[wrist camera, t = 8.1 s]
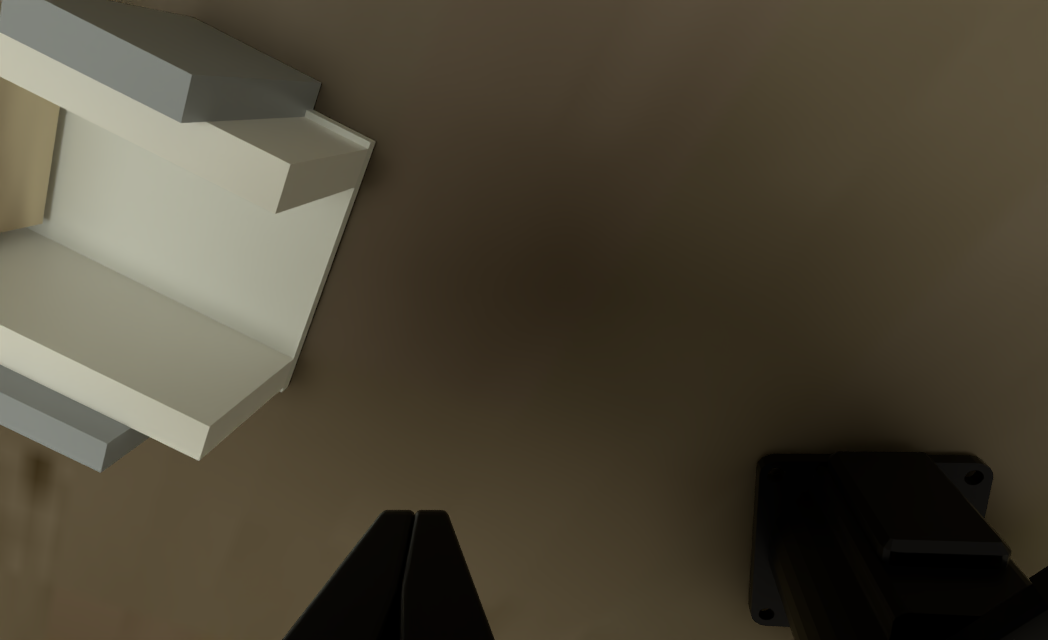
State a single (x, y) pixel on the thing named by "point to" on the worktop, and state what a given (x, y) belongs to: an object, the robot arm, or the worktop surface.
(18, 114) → the maple block
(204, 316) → the chute
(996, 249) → the worktop surface
